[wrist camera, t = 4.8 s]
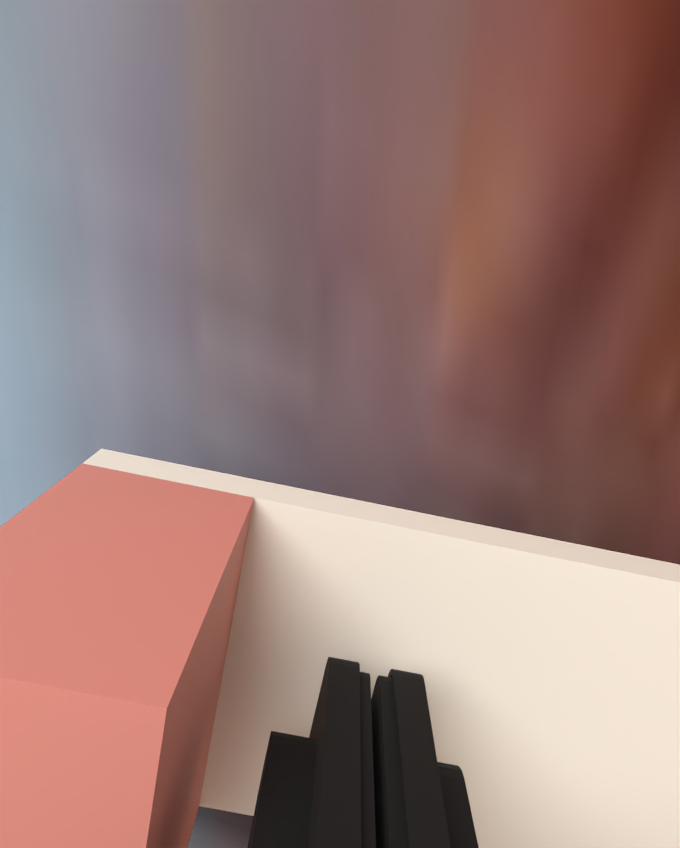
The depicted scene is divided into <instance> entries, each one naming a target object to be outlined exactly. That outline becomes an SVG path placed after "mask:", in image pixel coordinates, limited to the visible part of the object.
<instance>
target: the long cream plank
mask: <svg viewBox="0 0 680 848" xmlns="http://www.w3.org/2000/svg"><path fill="white" fill-rule="evenodd" d="M328 657H333V658H338V659H344V660H349V661H354V662H359V664H360V672H365V673H369V674H370V682H371V698H372V694H373V690H374V686H375V683H376V679H377V677H378V676H379V675H380V676H386V677H388V674H389V672H390V670H391V669H396V670H401V671H406V672H412V673H417V674H422V675H423V677H424V682H425V688H426V694H427V700H428V707H429V713H430V719H431V725H432V732H433V738H434V744H435V751H436V757H437V762H441V763H446V764H452V765H457V766H459V767H460V768H461V770H462V772H463V776H464V779H465V784H466V789H467V794H468V798H469V803H470V808H471V813H472V818H473V823H474V828H475V832H476V837H477V842H478V847H479V848H680V565H679V564H674V563H669V562H664V561H659V560H654V559H649V558H644V557H639V556H634V555H629V554H624V553H619V552H614V551H609V550H604V549H599V548H594V547H589V546H584V545H579V544H574V543H569V542H564V541H559V540H554V539H549V538H544V537H539V536H534V535H529V534H524V533H519V532H514V531H509V530H504V529H499V528H494V527H489V526H484V525H479V524H474V523H469V522H464V521H459V520H454V519H449V518H444V517H439V516H434V515H429V514H424V513H419V512H414V511H409V510H404V509H399V508H394V507H390V506H385V505H380V504H375V503H370V502H365V501H360V500H355V499H350V498H345V497H340V496H335V495H330V494H325V493H320V492H315V491H310V490H305V489H300V488H295V487H290V486H285V485H280V484H275V483H270V482H265V481H260V480H255V479H250V478H245V477H240V476H235V475H230V474H225V473H220V472H215V471H210V470H205V469H200V468H195V467H190V466H185V465H180V464H175V463H170V462H165V461H160V460H155V459H150V458H145V457H140V456H135V455H130V454H125V453H120V452H115V451H110V450H105V449H100V450H99V451H98V452H97V453H95V454H94V455H93V456H91V457H90V458H89V459H88V460H86V461H85V462H84V463H82V464H81V465H80V466H79V467H77V468H76V469H75V470H73V471H72V472H71V473H69V474H68V475H67V476H66V477H64V478H63V479H62V480H60V481H59V482H58V483H57V484H55V485H54V486H53V487H51V488H50V489H49V490H48V491H46V492H45V493H44V494H42V495H41V496H40V497H39V498H37V499H36V500H35V501H33V502H32V503H31V504H29V505H28V506H27V507H26V508H24V509H23V510H22V511H20V512H19V513H18V514H17V515H15V516H14V517H13V518H11V519H10V520H9V521H8V522H6V523H5V524H4V525H2V526H1V527H0V848H187V847H188V844H189V840H190V836H191V833H192V829H193V826H194V822H195V819H196V815H197V812H198V808H199V806H202V807H207V808H213V809H218V810H223V811H229V812H234V813H240V814H245V815H251V816H254V811H255V806H256V801H257V796H258V791H259V785H260V780H261V775H262V771H263V766H264V761H265V756H266V751H267V747H268V742H269V737H270V733H271V731H275V732H281V733H286V734H291V735H297V736H302V737H307V738H309V735H310V731H311V727H312V723H313V718H314V714H315V710H316V706H317V701H318V697H319V693H320V688H321V684H322V680H323V676H324V671H325V667H326V663H327V660H328Z"/></svg>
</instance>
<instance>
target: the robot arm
mask: <svg viewBox="0 0 680 848" xmlns="http://www.w3.org/2000/svg"><path fill="white" fill-rule="evenodd" d="M248 848H479V847H478V842H477V837H476V832H475V828H474V823H473V818H472V813H471V808H470V803H469V798H468V794H467V789H466V784H465V779H464V776H463V772H462V770H461V768H460V767H459V766H457V765H452V764H446V763H441V762H437V757H436V751H435V744H434V738H433V732H432V725H431V719H430V713H429V707H428V700H427V694H426V688H425V682H424V677H423V675H422V674H417V673H412V672H406V671H401V670H396V669H391V670H390V672H389V674H388V677H386V676H380V675H379V676H378V677H377V679H376V683H375V686H374V690H373V694H372V698H371V682H370V674H369V673H365V672H360V664H359V662H354V661H349V660H344V659H338V658H333V657H328V660H327V663H326V667H325V671H324V676H323V680H322V684H321V688H320V693H319V697H318V701H317V706H316V710H315V714H314V718H313V723H312V727H311V731H310V735H309V738H307V737H302V736H297V735H291V734H286V733H281V732H275V731H271V733H270V737H269V742H268V747H267V751H266V756H265V761H264V766H263V771H262V775H261V780H260V785H259V791H258V796H257V801H256V806H255V811H254V817H253V822H252V828H251V833H250V839H249V844H248Z"/></svg>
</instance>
